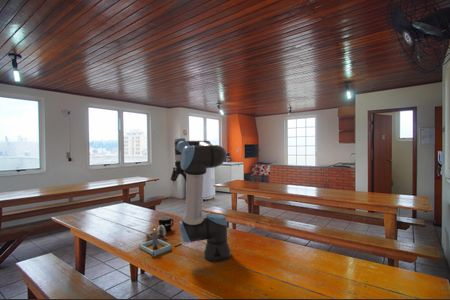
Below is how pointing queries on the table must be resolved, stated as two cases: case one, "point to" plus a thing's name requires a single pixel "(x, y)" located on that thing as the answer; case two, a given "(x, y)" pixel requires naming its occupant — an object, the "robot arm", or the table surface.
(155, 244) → the pin
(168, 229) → the mug
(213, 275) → the table surface
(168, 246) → the tray
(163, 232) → the tensioner block
